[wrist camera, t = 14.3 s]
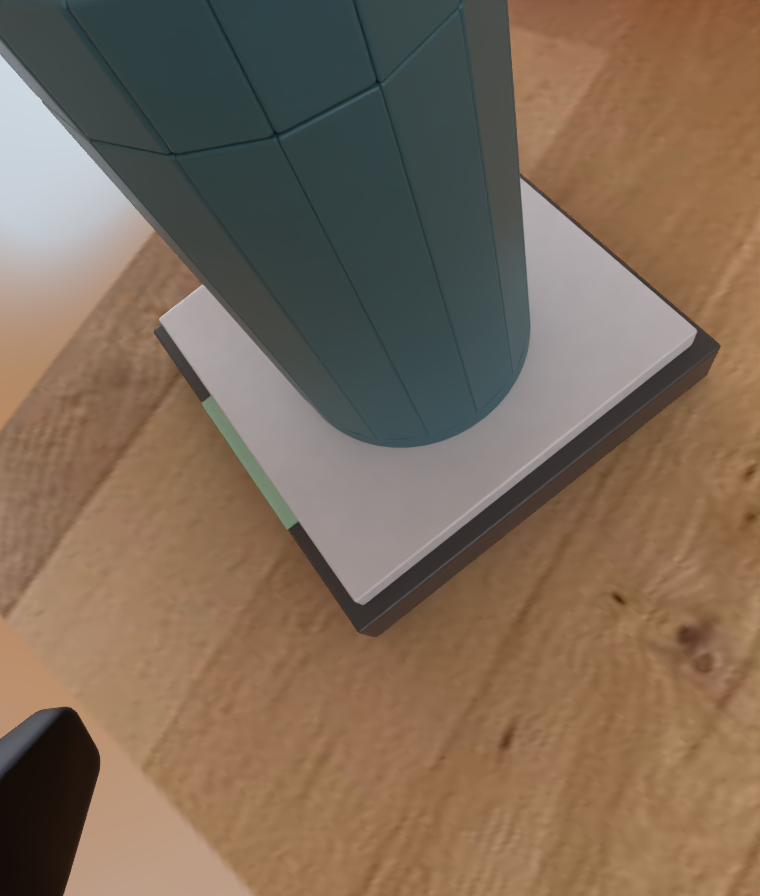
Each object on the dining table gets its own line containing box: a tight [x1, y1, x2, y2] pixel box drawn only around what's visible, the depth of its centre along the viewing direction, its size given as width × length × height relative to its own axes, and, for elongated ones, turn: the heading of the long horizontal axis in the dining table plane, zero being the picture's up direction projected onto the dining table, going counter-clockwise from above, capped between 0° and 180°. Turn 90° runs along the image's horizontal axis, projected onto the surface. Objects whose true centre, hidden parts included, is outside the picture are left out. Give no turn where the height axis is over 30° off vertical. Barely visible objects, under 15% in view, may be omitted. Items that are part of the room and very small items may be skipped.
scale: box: [154, 174, 720, 637], centre depth 21 cm, size 12×12×3 cm
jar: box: [0, 0, 531, 448], centre depth 13 cm, size 7×7×13 cm
